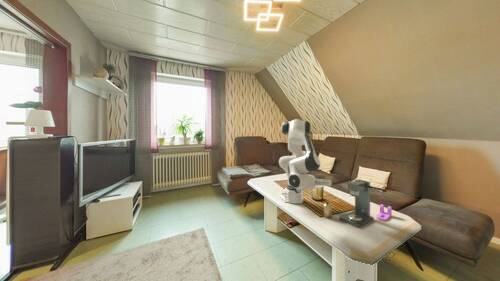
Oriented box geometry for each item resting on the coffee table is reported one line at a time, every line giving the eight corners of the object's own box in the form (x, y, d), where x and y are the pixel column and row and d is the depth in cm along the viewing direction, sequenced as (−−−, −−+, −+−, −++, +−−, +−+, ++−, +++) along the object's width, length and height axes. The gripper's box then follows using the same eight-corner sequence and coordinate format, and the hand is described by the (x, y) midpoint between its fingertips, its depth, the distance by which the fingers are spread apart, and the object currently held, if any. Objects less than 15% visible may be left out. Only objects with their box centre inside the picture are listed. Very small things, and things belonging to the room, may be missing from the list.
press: (373, 234, 97) (373, 191, 96) (339, 219, 114) (339, 182, 113) (387, 225, 106) (387, 185, 105) (354, 213, 123) (354, 178, 122)
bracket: (381, 213, 122) (381, 203, 122) (391, 216, 118) (391, 206, 117) (375, 218, 114) (375, 208, 114) (385, 222, 110) (385, 211, 109)
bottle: (322, 215, 120) (322, 201, 119) (327, 214, 121) (327, 200, 121) (327, 219, 115) (327, 204, 114) (333, 217, 117) (333, 203, 116)
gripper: (325, 176, 96) (335, 177, 105) (294, 176, 110) (305, 177, 119) (326, 188, 94) (336, 188, 103) (294, 186, 109) (305, 186, 118)
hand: (319, 182), depth 111 cm, fingers open, 8 cm apart
